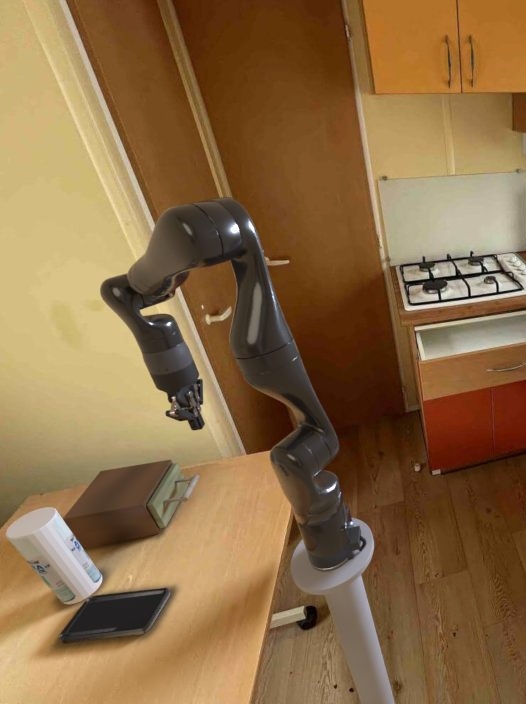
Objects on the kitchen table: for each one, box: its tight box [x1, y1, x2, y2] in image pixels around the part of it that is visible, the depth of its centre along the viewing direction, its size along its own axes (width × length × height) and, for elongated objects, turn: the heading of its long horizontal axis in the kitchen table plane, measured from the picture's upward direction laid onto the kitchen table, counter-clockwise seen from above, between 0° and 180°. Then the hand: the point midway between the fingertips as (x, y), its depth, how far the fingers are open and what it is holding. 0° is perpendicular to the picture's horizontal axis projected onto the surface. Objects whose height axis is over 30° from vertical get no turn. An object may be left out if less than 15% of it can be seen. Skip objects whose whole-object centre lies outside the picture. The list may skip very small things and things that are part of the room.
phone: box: [58, 587, 171, 644], centre depth 80 cm, size 8×1×15 cm
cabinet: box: [62, 459, 174, 550], centre depth 98 cm, size 15×14×10 cm
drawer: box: [147, 462, 200, 529], centre depth 99 cm, size 18×12×8 cm
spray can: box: [5, 506, 103, 605], centre depth 80 cm, size 6×6×20 cm
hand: (198, 427), depth 95 cm, fingers closed
